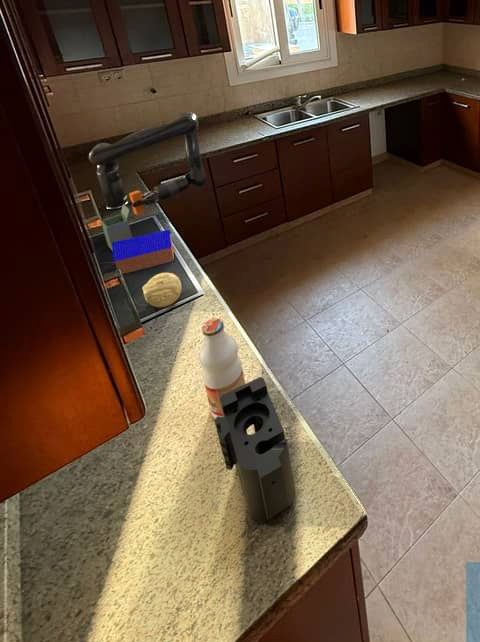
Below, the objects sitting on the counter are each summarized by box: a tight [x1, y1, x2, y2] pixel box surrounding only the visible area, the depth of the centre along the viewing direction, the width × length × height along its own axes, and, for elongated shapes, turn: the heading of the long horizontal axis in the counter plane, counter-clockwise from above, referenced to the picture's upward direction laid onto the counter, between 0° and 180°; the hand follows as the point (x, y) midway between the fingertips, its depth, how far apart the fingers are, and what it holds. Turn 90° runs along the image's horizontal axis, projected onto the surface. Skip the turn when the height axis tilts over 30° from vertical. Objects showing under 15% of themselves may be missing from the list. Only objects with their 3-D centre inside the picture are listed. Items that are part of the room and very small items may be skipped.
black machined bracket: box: [214, 376, 296, 526], centre depth 92 cm, size 12×21×22 cm, turn 34°
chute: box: [101, 213, 133, 252], centre depth 184 cm, size 8×8×12 cm
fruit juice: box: [198, 317, 246, 420], centre depth 110 cm, size 9×9×28 cm
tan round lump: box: [142, 272, 183, 308], centre depth 151 cm, size 12×12×11 cm
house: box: [112, 229, 175, 275], centre depth 174 cm, size 12×20×12 cm, turn 117°
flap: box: [120, 204, 131, 220], centre depth 184 cm, size 8×4×1 cm
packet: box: [128, 190, 147, 216], centre depth 204 cm, size 4×3×11 cm
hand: (131, 204), depth 201 cm, fingers closed on packet, 3 cm apart
